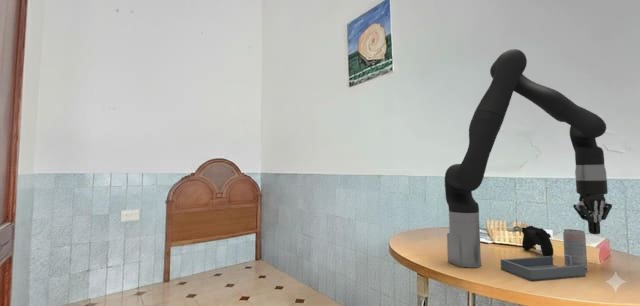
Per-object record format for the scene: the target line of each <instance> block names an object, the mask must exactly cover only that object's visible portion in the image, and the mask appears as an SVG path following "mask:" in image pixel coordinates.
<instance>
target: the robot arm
mask: <svg viewBox="0 0 640 306" xmlns="http://www.w3.org/2000/svg"><path fill="white" fill-rule="evenodd" d="M527 62H528V61H527V57H526V55H525V53H524V52H523V51H521V49H517V48H514V49H513V48H511V49H508V50H506V51H504V52H502V53H501V54H500V55H499V56H498V57H497V58H496V60H495V61H494V62H493V64H492V65H491V67H490V70H489V74H490V76H491V78H492V80H491V83H490V85H489V87H488V89H486V91H485V93H484V95H483V97H481V99H480V101H479V103H478V105H477V106H476V109H475V111H474V113H473V115H472V118H471V119H470V124H469V125H468V126H469V128H468V147H467V151H466V153H465V155H464V157H463V159H462V161H461V163H455V164H452V165H450V166H448V168H447V169H446V171H445V174H444V189H445V200H446V203H447V206H448V227H449V229H448V230H449V233H447V234H446V243H447V244H446V246H447V247H446V251H447V263H449V264H452V265H454V266H456V267H458V268H460V267H461V268H479V267H481V266H482V255H481V254H482V252H481V235H480V234H481V229H480V227H481V226H480V208H479V203H478V202H477V201H476V199H474V196H473V192H474V191H476V190H477V189H478V188H479V187H480V186H481V184H482V183H483V180H484V176H485V172H486V169H487V165H488V162H489V158H490V156H491V155H490V154H491V152H492V149H493V147H494V145H495V141H496V140H497V137H498V134H499V132H500V130H501V128H502V125H503V123H504V120H505V117H506V114H507V111H508V108H509V107H510V106H509V105H510V103H511V100H512V96H513V94H514V92H515V93H516V94H518V95H520V96H522V97H523V98H525V99H527V100H529V101H530V102H532V103H533V104H534V105H535V106H537V107H539V108H540V109H542V110H543V111H544V112H545V113H547V114H548V116H550V117H551V118H552V119H554V120H556V121H558V122H561V123H566V124H567V125H569V126H570V127H569V138H570V139H569V140H570V141H571V145H572V148H573V151H574V157H575V158H574V159H575V162H574V163H575V171H574V176H575V177H574V178H575V190H576V193H577V194H578V195H579V199H578V201H579V202H578V203H577V204H573V206H572V207H573V208H574V210H575V211H576V212H577V214H578V216H579V217H580V218H581V220H584V221H585V222H587V226H588V227H587V228H588V233H589V234H590V235H600V234H601V222H602V221H605V220H606V219H607V217H608V215H609V213H610V211H611V209H612V207H613V204H611V203H608V202H607V201H606V197H605V195H608V192H609V191H608V181H607V178H608V177H607V171H606V165H605V154H604V150H603V148H602V147H600V146H598V144H597V143H598V142H597V138H600V137H601V136H603V135H604V134H605V133H606V130H607V124H606V122H605V121H604V119H603V118H602V117H600V116H599V115H598V114H596V113H594V112H592V111H590V110H589V109H586V108H584V107H582V106H580V105H578V104H577V103H575V102H573V101H572V100H571V99H569V98H568V97H566V95H564V94H563V93H562V92H559V90H556V89H553V88H551V87H548V86H545V85H543V84H540V83H537V82H535V81H532V80H531V79H529V78H528V77H526V76H525V75H524V74H523V73H524V71H525V70H526V68H527Z"/></svg>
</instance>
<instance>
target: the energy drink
mask: <svg viewBox="0 0 640 306" xmlns="http://www.w3.org/2000/svg"><path fill="white" fill-rule="evenodd" d="M562 236H563V237H562V238H563V251H564V252H563V255H564V257H563V258H564V266H575V265H583V266H585V273H587V272H588V257H587V241H586V233H585V231H584V230H580V229H569V228H568V229H567V228H566V229H563V231H562Z"/></svg>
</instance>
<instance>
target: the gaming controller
mask: <svg viewBox="0 0 640 306" xmlns="http://www.w3.org/2000/svg"><path fill="white" fill-rule="evenodd" d="M521 233H522V234H523V238H522V241H521V242H522V243H521V244H522V245H521V246H522V249H523V250H525V252H526V251H530V250H531V249H533V248H534V247H535V246H536V245H537V246H540V251H541V254H542V257H543V256H551V257H553V256H554V247H553V243H552V241H551V239H550V238H551V237H552V236H551V233H549V232H547V231H546V230H545V229H544V228H542V227H541V228H539V227H536V226H534V225H527V226H526V227H523V226H522V227H521Z"/></svg>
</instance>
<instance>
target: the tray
mask: <svg viewBox="0 0 640 306" xmlns="http://www.w3.org/2000/svg"><path fill="white" fill-rule="evenodd" d="M553 260H554V259H553V256H552V257H551V256H543V255H542V256H534V257H532V256H531V257H529V256H528V257H518V258H515V257H514V258H504V259H502V258H501V259H500V269H501V270H502V271H505V272H507V273H510V274H512V275H514V276H517V277H520V278H522V279H525V280H528V281H530V282H540V281H549V280H561V279H573V278H574V277H575V278H584V277H585V278H586V277H587V276H586V272H585V266H583V265H575V266H565V265H564V266H559V265H555V264H554V261H553Z"/></svg>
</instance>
